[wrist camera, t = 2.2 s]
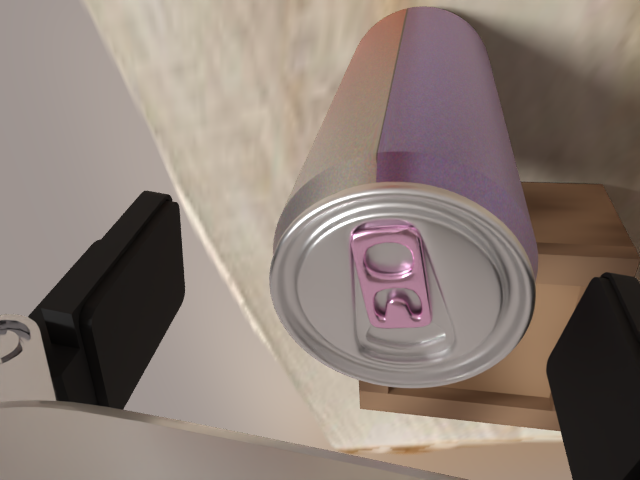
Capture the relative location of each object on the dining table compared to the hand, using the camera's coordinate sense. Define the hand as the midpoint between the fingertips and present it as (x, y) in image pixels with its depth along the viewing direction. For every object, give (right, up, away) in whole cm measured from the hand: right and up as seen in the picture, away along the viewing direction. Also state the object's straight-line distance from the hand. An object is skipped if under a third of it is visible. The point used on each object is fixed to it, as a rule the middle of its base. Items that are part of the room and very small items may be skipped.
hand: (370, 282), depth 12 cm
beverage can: (+3, +8, +11) cm, 14 cm away
